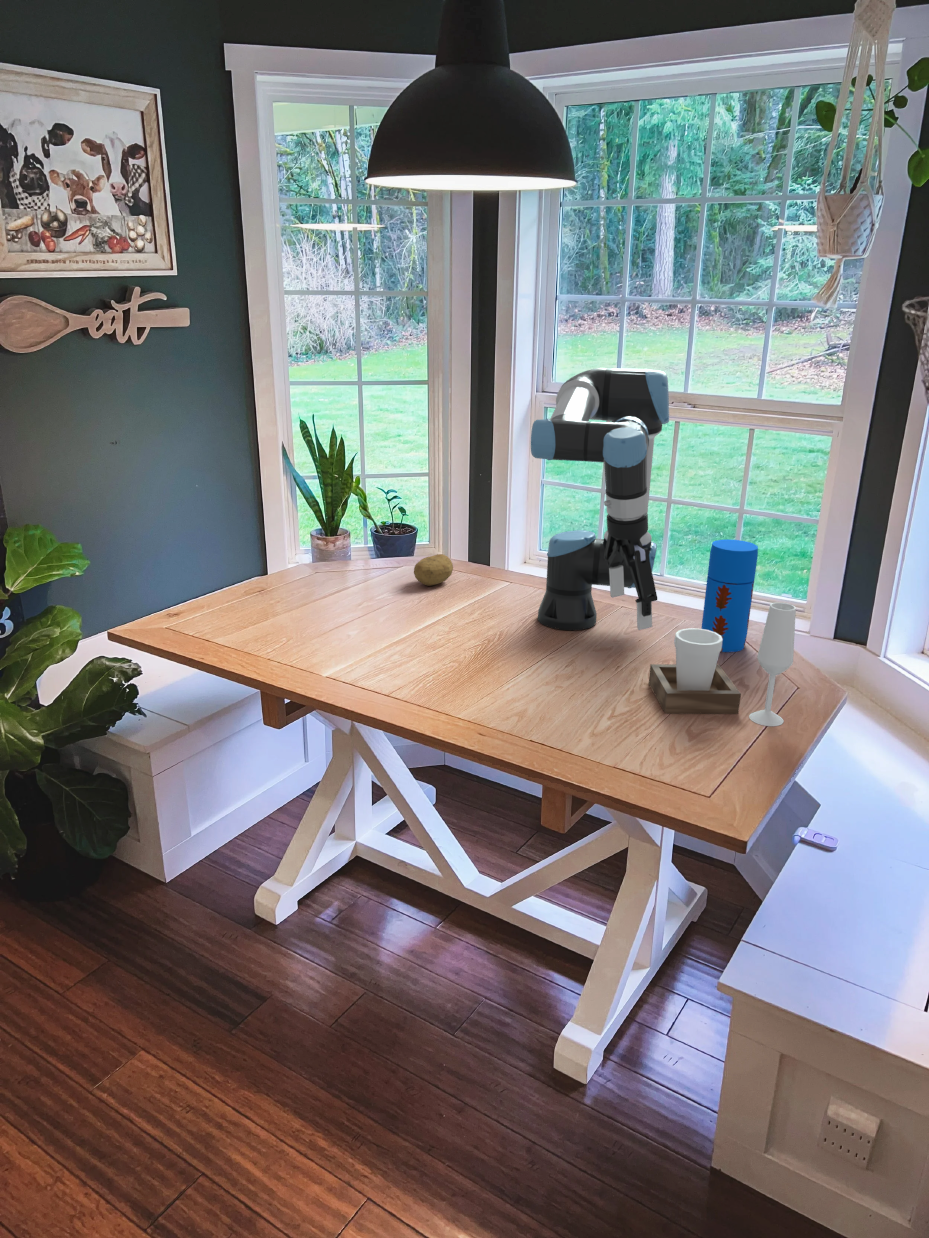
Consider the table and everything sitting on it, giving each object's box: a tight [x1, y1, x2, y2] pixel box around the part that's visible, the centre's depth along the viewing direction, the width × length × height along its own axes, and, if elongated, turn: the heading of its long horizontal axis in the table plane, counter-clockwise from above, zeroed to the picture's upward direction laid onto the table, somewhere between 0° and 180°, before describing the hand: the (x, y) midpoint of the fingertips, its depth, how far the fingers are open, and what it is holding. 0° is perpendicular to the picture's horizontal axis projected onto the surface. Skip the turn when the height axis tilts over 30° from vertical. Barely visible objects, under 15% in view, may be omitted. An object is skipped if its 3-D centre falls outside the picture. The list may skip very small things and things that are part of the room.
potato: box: [413, 553, 454, 587], centre depth 258 cm, size 10×14×8 cm
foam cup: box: [674, 627, 723, 691], centre depth 186 cm, size 10×9×13 cm
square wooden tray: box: [648, 663, 742, 715], centre depth 188 cm, size 15×15×4 cm
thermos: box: [700, 539, 759, 653], centre depth 214 cm, size 11×11×25 cm
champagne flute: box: [748, 601, 797, 727], centre depth 176 cm, size 7×7×24 cm
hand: (630, 611), depth 176 cm, fingers open, 13 cm apart
